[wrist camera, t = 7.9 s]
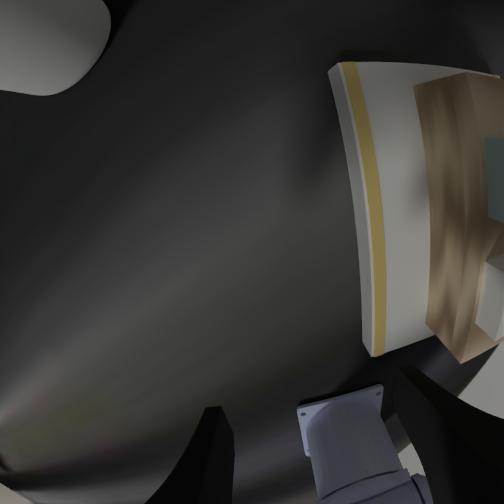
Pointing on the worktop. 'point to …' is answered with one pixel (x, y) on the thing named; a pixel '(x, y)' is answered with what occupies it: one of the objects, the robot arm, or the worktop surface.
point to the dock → (388, 194)
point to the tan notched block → (460, 202)
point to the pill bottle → (50, 43)
